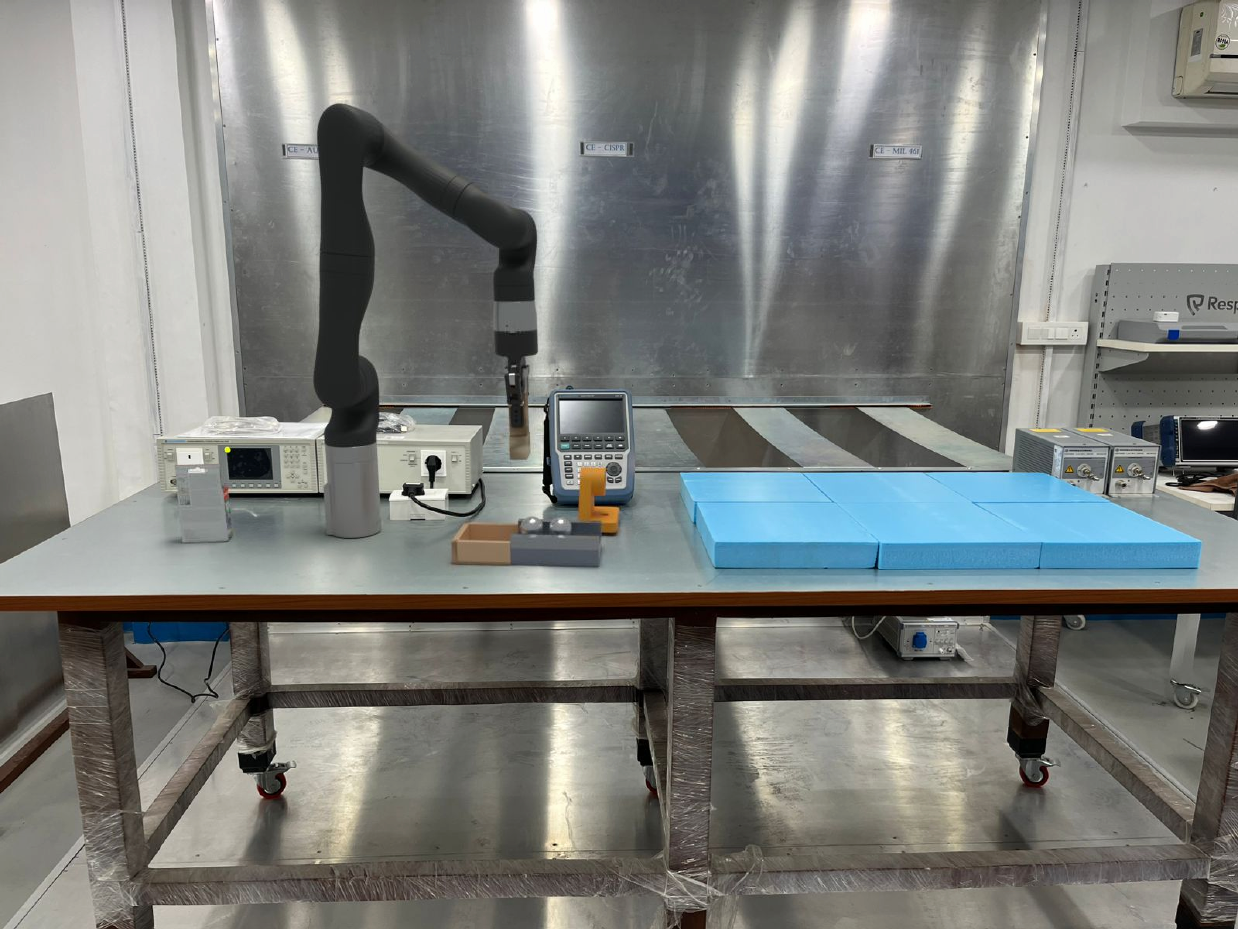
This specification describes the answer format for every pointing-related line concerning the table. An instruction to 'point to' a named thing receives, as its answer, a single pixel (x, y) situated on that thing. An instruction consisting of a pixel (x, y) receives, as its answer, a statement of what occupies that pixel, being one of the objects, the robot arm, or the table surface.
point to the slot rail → (559, 545)
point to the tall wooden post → (520, 433)
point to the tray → (483, 543)
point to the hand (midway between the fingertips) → (519, 424)
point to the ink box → (203, 504)
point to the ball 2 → (560, 526)
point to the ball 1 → (531, 526)
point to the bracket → (590, 486)
